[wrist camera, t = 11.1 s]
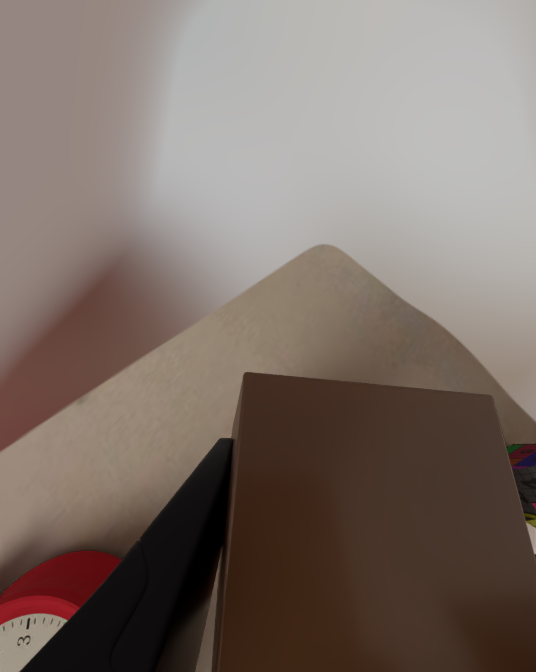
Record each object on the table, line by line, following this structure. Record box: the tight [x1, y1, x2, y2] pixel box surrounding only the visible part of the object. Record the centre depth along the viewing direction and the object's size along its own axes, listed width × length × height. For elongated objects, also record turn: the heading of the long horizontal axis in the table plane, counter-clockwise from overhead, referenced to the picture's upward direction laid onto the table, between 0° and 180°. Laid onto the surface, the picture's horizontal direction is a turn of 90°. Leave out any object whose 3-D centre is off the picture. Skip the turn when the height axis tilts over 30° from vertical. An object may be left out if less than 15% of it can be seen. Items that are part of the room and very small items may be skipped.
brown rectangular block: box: [211, 372, 536, 672], centre depth 9 cm, size 4×4×11 cm
